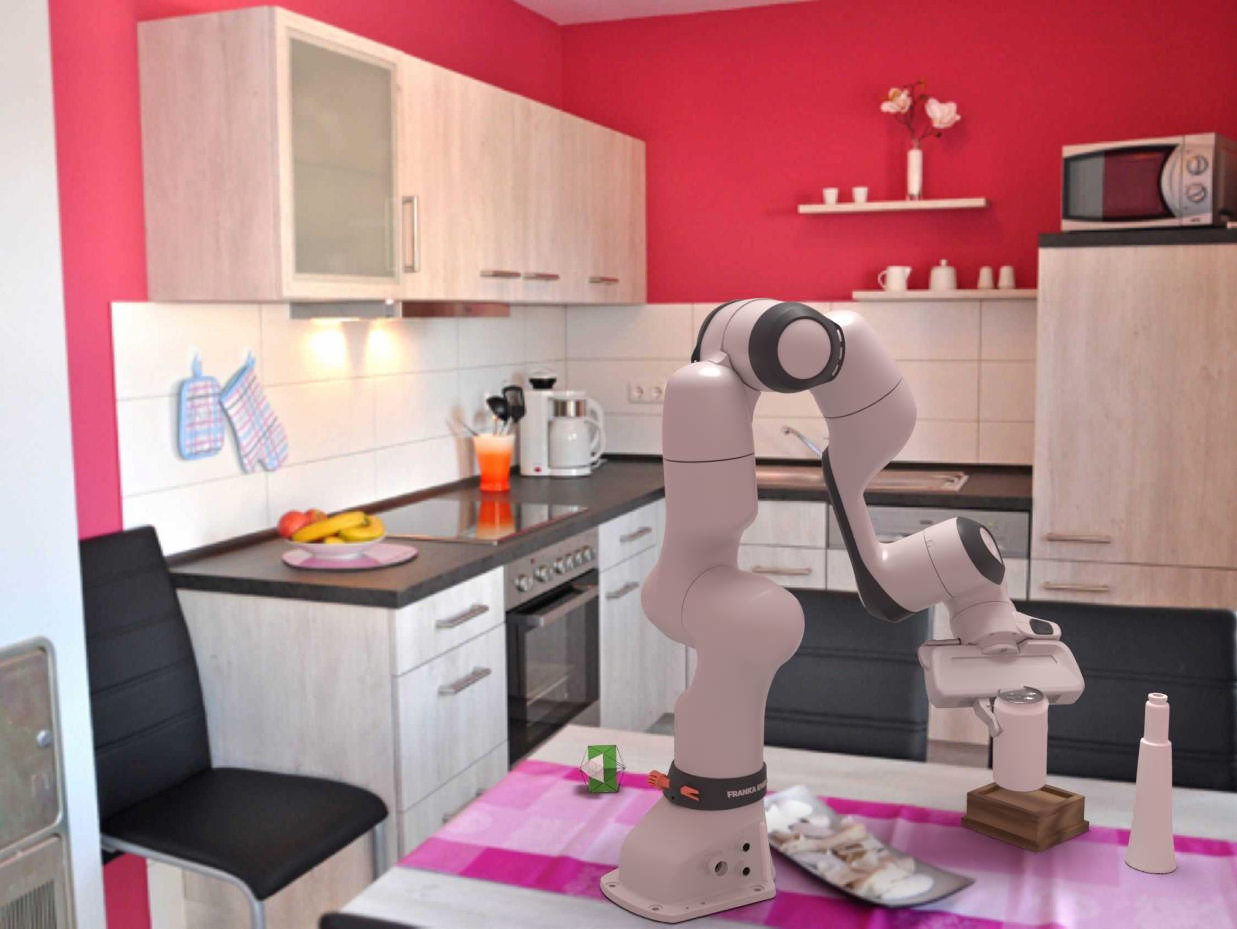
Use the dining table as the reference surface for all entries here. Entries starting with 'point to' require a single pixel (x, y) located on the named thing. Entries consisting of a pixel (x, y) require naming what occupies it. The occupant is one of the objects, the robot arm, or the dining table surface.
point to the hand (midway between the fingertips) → (1020, 733)
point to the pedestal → (1026, 815)
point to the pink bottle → (1153, 795)
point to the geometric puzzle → (602, 768)
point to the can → (1020, 740)
